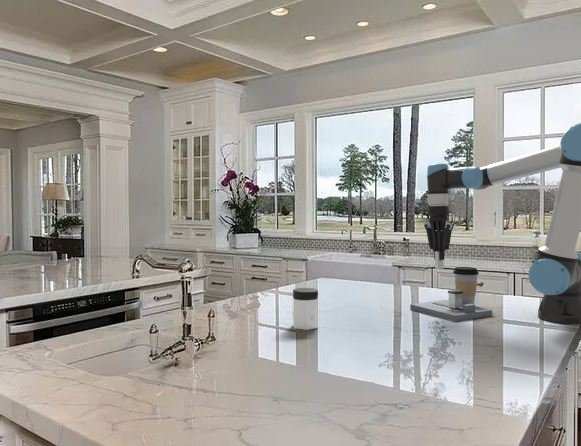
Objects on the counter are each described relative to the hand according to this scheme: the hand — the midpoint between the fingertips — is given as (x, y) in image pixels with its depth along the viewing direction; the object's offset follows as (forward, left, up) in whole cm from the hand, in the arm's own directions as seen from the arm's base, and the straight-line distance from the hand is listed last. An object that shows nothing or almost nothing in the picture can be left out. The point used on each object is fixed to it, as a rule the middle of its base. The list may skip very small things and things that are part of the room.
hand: (439, 268), depth 183 cm
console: (-5, 0, -16) cm, 16 cm away
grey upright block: (-8, 0, -13) cm, 15 cm away
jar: (+2, +57, -16) cm, 59 cm away
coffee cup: (-1, -13, -16) cm, 20 cm away
